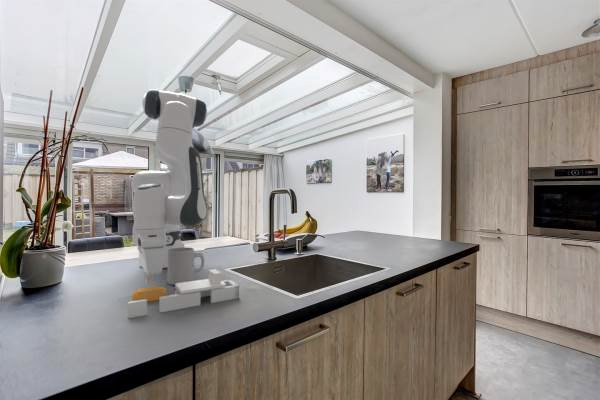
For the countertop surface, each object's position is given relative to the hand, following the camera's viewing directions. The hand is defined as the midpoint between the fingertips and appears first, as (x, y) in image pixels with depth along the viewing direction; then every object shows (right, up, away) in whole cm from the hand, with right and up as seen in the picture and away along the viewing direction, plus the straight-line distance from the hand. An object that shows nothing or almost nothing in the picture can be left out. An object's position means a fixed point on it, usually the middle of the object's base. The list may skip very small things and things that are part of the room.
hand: (149, 283), depth 91 cm
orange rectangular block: (+3, -3, -5) cm, 7 cm away
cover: (+17, +1, -6) cm, 18 cm away
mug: (+6, -3, +14) cm, 15 cm away
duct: (+14, -3, -8) cm, 16 cm away
